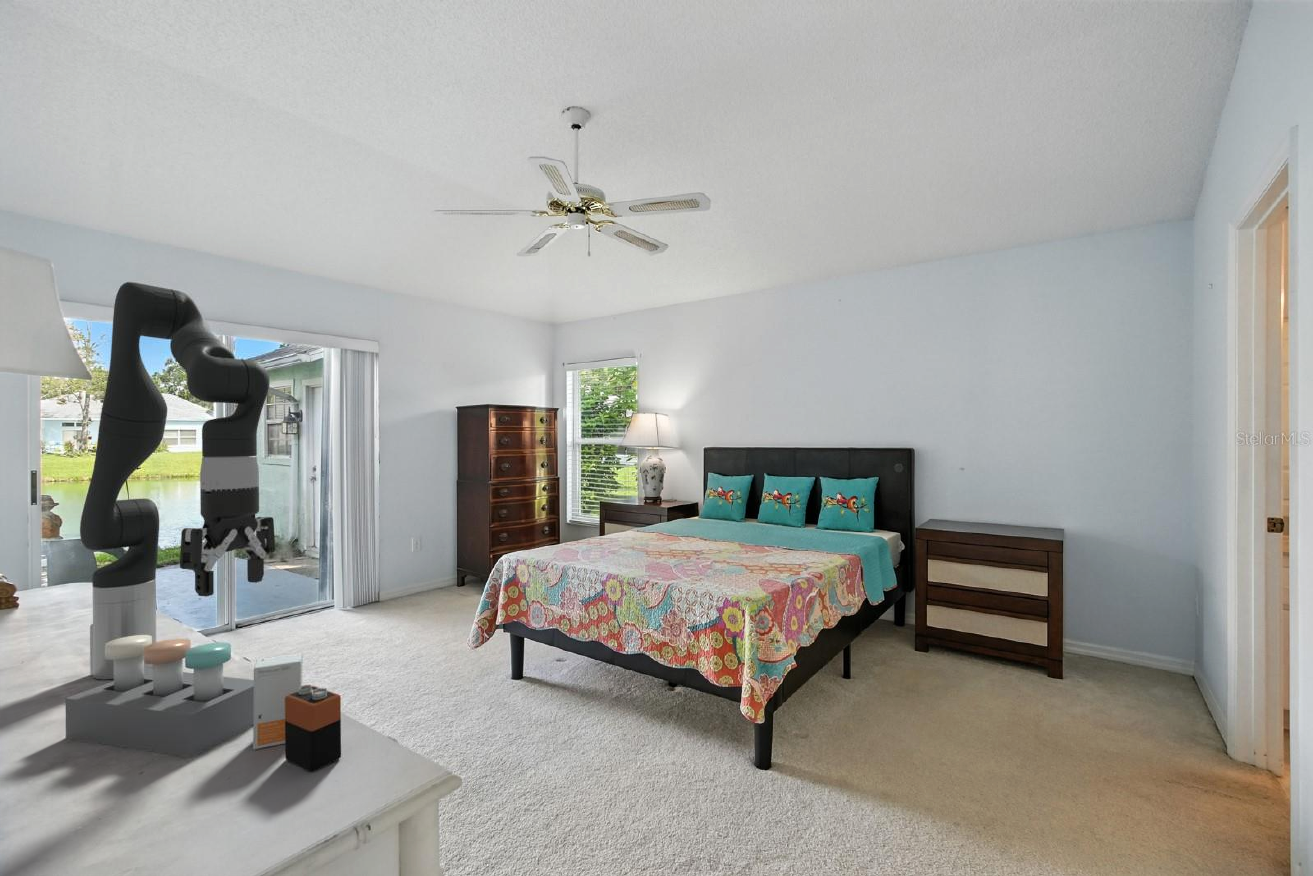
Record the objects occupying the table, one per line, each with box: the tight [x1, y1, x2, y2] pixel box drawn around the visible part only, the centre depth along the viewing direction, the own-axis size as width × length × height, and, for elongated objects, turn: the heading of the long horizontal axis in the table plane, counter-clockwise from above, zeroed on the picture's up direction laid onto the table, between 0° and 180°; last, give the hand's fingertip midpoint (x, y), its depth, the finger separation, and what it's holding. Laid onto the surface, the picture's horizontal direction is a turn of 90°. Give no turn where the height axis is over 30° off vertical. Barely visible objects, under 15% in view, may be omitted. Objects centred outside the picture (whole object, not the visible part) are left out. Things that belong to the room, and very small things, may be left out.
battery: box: [284, 684, 342, 773], centre depth 84 cm, size 4×7×10 cm, turn 60°
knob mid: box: [144, 638, 192, 697], centre depth 93 cm, size 6×6×8 cm
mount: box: [65, 668, 254, 758], centre depth 93 cm, size 24×12×6 cm, turn 76°
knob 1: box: [105, 635, 152, 692], centre depth 95 cm, size 6×6×8 cm
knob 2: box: [184, 641, 232, 702], centre depth 91 cm, size 6×6×8 cm
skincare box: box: [252, 652, 304, 750], centre depth 90 cm, size 6×4×12 cm
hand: (231, 588), depth 94 cm, fingers open, 8 cm apart
